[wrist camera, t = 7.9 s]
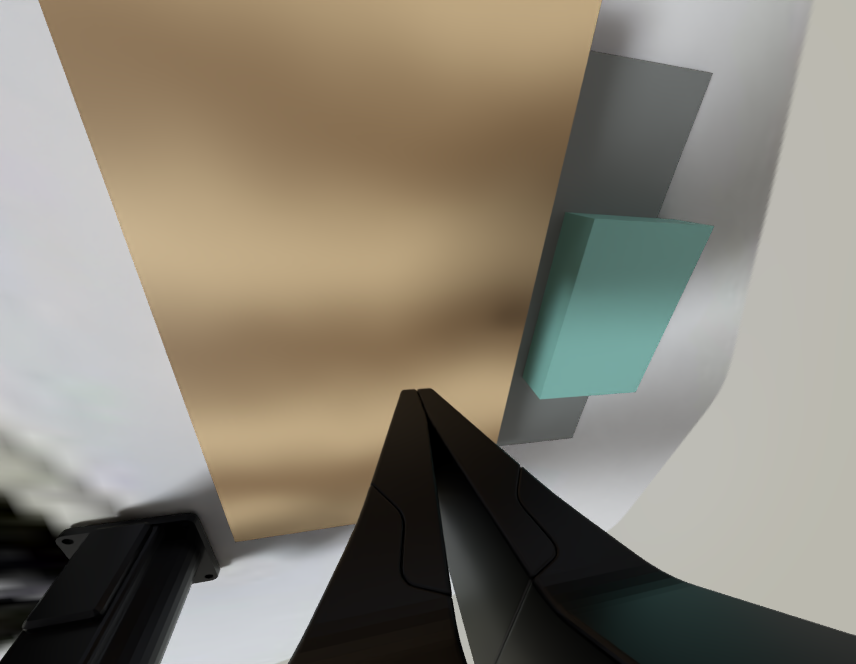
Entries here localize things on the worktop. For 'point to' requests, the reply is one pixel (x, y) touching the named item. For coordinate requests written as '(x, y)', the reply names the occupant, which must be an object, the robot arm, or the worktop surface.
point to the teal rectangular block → (609, 301)
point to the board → (327, 214)
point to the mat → (605, 193)
